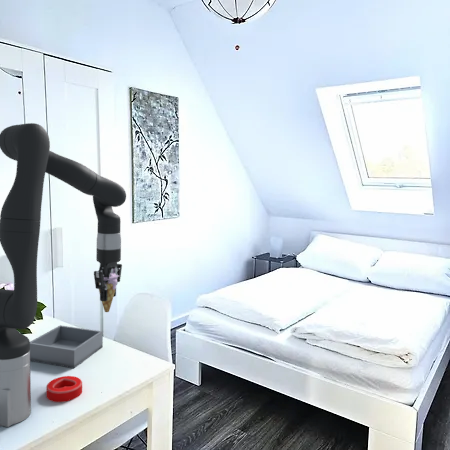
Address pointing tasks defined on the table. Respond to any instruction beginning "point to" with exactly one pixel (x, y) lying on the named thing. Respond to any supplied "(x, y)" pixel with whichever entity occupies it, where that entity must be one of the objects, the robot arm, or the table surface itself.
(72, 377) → the decorative ornament
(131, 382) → the table surface
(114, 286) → the ice cream cone
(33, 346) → the bin
